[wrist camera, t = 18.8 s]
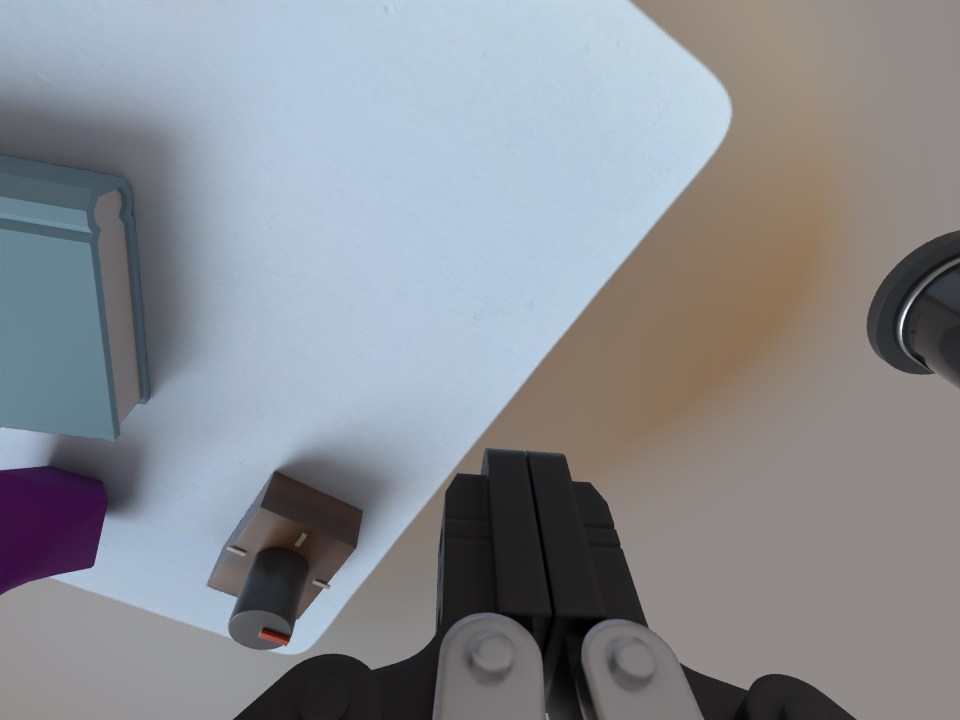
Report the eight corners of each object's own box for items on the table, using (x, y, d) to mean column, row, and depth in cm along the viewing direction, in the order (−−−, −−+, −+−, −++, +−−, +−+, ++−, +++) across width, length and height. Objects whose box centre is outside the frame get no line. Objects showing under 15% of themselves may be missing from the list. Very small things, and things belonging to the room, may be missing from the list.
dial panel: (270, 469, 45) (255, 506, 41) (366, 512, 48) (359, 550, 44) (219, 545, 49) (201, 586, 45) (311, 582, 51) (300, 622, 48)
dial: (242, 575, 45) (216, 642, 40) (264, 540, 43) (240, 606, 38) (294, 593, 46) (275, 661, 41) (318, 560, 44) (301, 626, 39)
